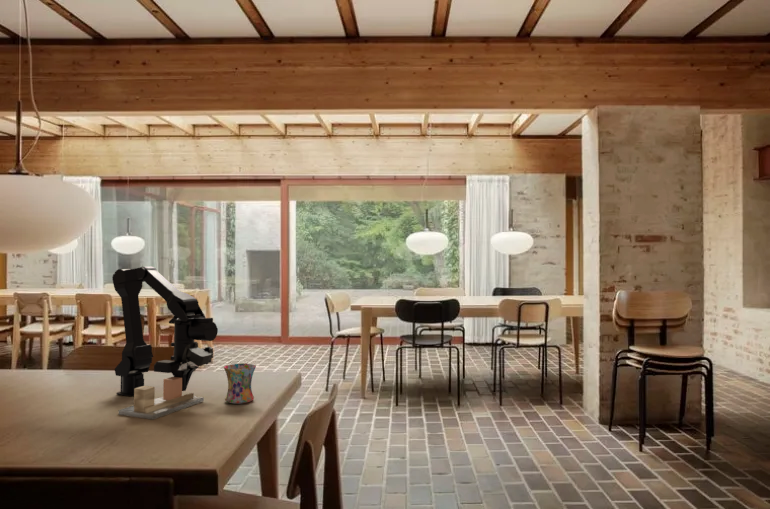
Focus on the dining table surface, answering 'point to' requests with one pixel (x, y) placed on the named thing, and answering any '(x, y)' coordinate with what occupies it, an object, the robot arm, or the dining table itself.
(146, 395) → the bar
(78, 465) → the dining table surface
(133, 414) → the flange plate
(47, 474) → the dining table surface
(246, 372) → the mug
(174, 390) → the slide leg
